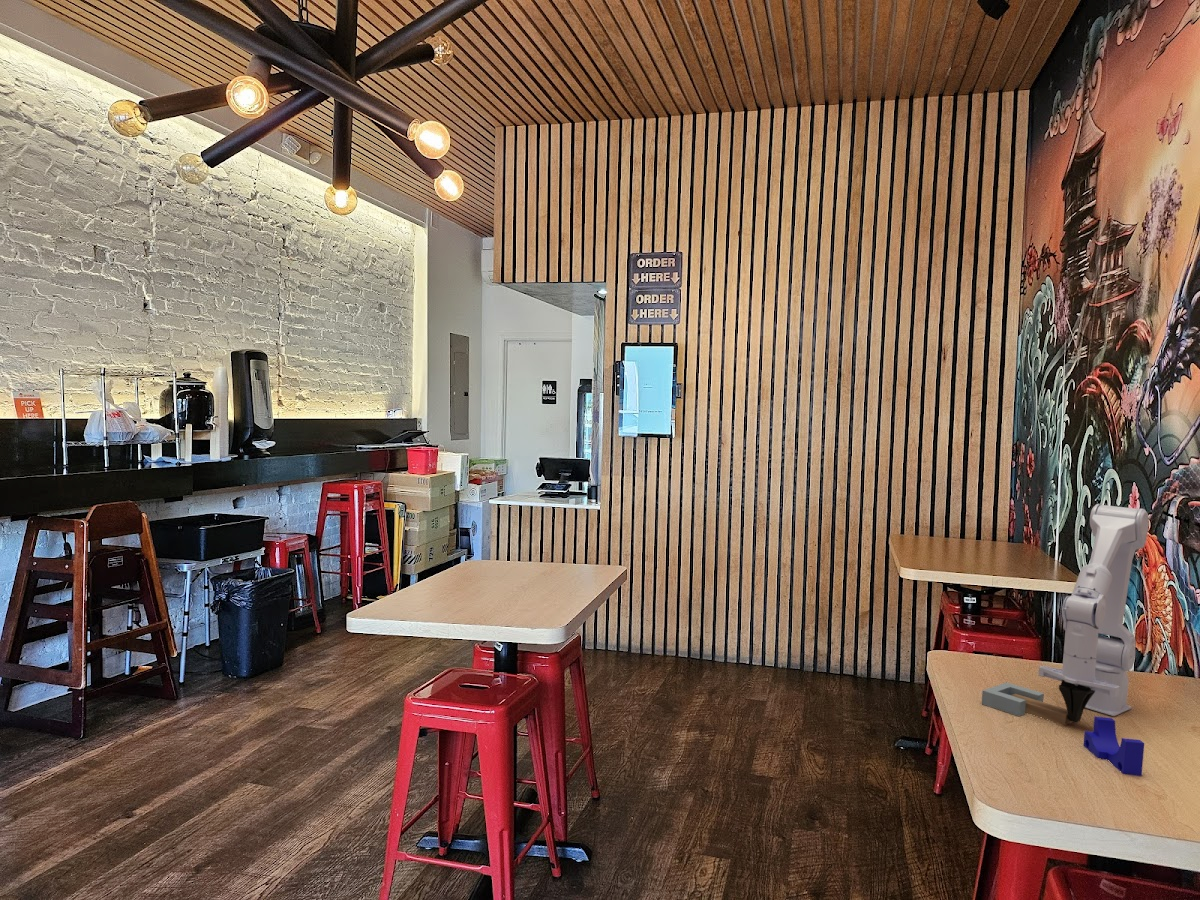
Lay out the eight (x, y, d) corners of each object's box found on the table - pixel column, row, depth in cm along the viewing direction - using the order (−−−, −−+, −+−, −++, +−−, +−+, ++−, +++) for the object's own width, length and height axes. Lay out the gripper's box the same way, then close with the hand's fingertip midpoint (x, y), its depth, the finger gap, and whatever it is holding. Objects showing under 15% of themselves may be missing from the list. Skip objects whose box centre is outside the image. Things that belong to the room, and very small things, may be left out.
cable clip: (1083, 746, 155) (1085, 715, 154) (1108, 748, 154) (1111, 718, 154) (1113, 773, 143) (1116, 740, 142) (1141, 776, 142) (1144, 743, 142)
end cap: (1005, 695, 181) (1006, 682, 181) (1042, 707, 175) (1043, 693, 175) (981, 704, 175) (982, 690, 175) (1019, 716, 168) (1020, 702, 168)
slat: (1014, 704, 176) (1015, 693, 176) (1073, 723, 167) (1074, 711, 167) (1005, 708, 174) (1006, 696, 174) (1064, 727, 165) (1065, 715, 164)
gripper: (1033, 648, 167) (1028, 712, 168) (1111, 668, 156) (1105, 737, 157) (1049, 643, 172) (1044, 706, 172) (1126, 662, 160) (1120, 729, 161)
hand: (1074, 720), depth 165 cm, fingers closed
